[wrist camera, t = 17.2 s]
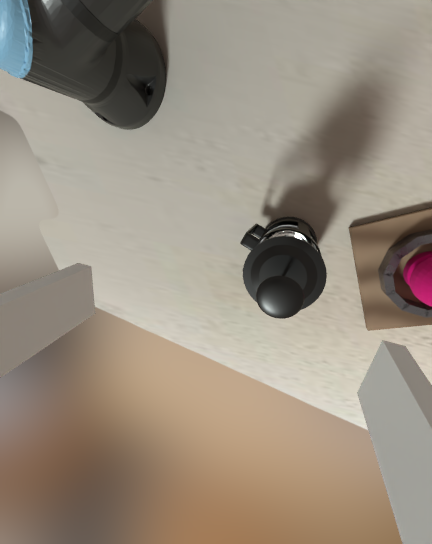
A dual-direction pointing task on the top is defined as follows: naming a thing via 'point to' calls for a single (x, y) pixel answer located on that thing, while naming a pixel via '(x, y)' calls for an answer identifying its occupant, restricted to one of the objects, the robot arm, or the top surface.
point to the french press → (283, 266)
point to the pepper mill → (420, 276)
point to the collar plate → (368, 256)
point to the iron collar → (392, 262)
